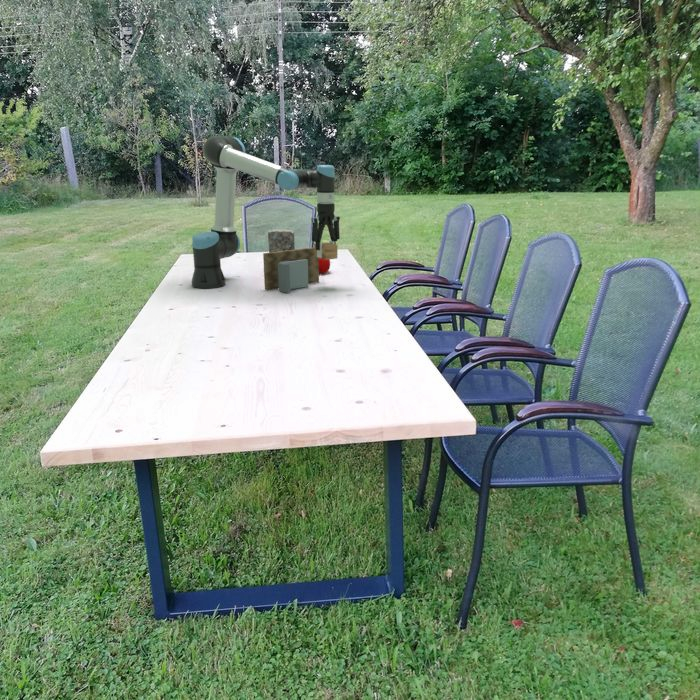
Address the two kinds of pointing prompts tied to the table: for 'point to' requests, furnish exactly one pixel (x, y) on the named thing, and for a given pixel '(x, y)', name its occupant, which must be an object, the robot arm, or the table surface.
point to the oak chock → (327, 251)
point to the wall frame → (298, 254)
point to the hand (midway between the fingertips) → (325, 256)
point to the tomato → (323, 265)
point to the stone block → (281, 241)
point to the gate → (292, 275)
